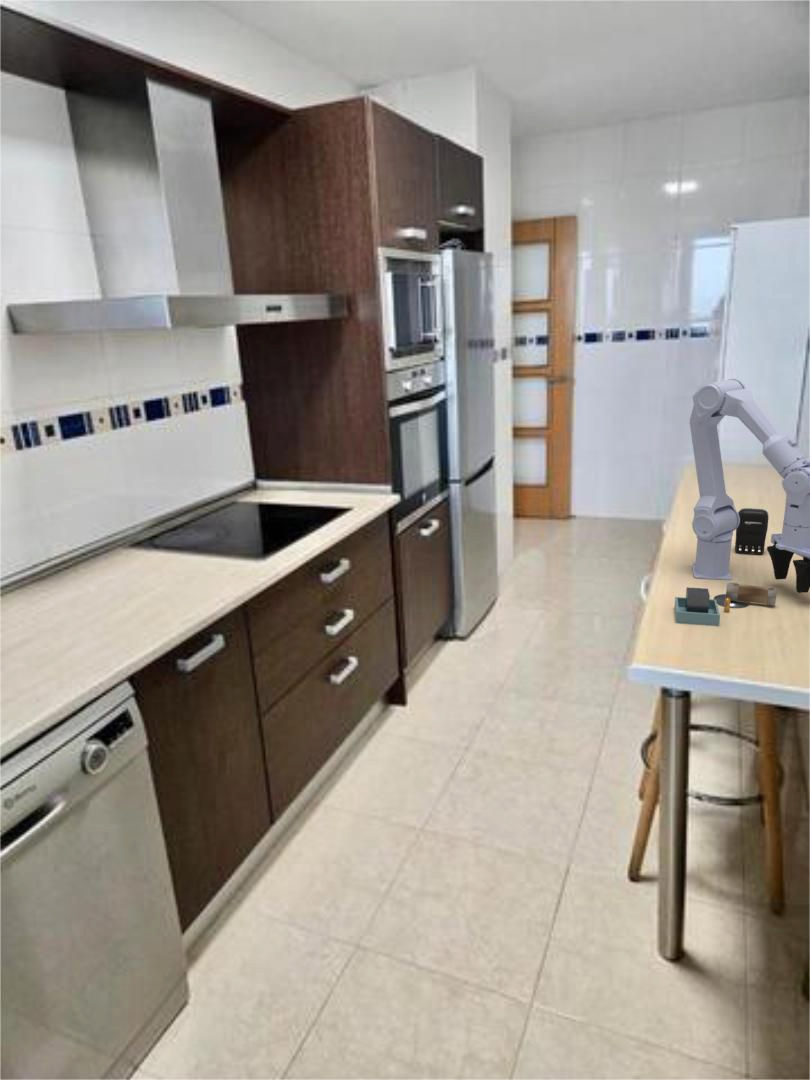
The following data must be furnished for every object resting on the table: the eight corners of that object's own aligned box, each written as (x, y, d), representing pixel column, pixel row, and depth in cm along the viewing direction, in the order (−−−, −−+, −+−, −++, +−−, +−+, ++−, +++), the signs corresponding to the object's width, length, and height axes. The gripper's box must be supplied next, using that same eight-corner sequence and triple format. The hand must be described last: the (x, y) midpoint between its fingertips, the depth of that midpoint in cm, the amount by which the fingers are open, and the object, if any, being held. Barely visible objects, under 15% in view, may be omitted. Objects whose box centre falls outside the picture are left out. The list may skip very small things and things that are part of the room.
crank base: (711, 594, 150) (713, 581, 150) (747, 597, 148) (748, 584, 147) (716, 612, 142) (717, 598, 141) (754, 615, 140) (755, 601, 139)
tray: (674, 607, 145) (675, 596, 144) (715, 610, 143) (716, 599, 142) (676, 622, 138) (676, 611, 137) (718, 626, 136) (720, 615, 135)
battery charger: (733, 554, 173) (738, 510, 170) (733, 550, 177) (737, 506, 173) (765, 557, 171) (770, 512, 167) (764, 552, 174) (769, 508, 170)
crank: (725, 600, 146) (726, 585, 145) (726, 595, 148) (727, 581, 147) (775, 606, 141) (777, 591, 140) (775, 602, 143) (777, 587, 142)
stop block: (684, 610, 143) (686, 587, 141) (705, 611, 142) (707, 588, 140) (685, 617, 139) (687, 594, 138) (707, 619, 138) (709, 596, 136)
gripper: (760, 515, 150) (753, 574, 154) (802, 535, 136) (793, 599, 140) (791, 513, 150) (784, 572, 154) (836, 532, 136) (827, 597, 140)
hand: (791, 585), depth 147 cm, fingers open, 7 cm apart
